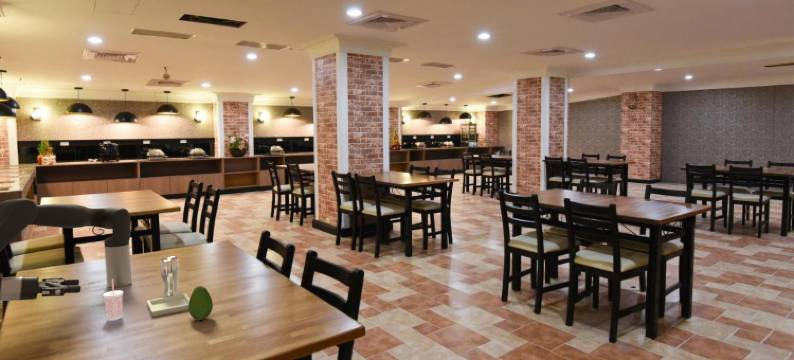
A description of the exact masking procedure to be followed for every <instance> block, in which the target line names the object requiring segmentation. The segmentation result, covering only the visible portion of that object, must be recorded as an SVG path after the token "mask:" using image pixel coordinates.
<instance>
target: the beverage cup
mask: <svg viewBox="0 0 794 360" xmlns="http://www.w3.org/2000/svg"><path fill="white" fill-rule="evenodd" d="M102 295H103V298H104V305H105V312H106V319H107V321H116V320H119V319H122V318H123V296H124V290H121V289H119V290H115V287H114V284H113V279H112V287H111V291H107V292H105V293H103V294H102Z"/></svg>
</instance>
